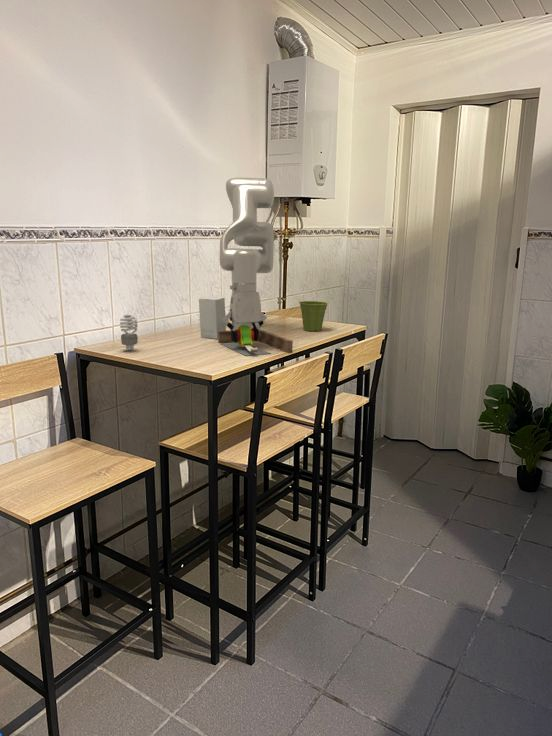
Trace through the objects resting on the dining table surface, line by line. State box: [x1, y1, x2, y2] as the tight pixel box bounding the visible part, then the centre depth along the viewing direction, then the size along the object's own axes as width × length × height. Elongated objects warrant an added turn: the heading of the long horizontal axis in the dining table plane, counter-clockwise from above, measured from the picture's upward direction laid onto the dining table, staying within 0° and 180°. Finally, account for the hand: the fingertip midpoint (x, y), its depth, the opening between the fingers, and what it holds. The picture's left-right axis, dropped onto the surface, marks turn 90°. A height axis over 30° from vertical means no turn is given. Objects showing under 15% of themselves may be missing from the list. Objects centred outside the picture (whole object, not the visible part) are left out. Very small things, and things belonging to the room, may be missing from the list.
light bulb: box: [119, 314, 139, 352], centre depth 188 cm, size 6×6×12 cm
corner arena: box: [217, 328, 294, 354], centre depth 198 cm, size 26×16×4 cm, turn 28°
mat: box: [220, 342, 272, 357], centre depth 196 cm, size 21×9×1 cm, turn 28°
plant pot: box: [298, 300, 329, 332], centre depth 233 cm, size 12×12×11 cm
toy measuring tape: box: [236, 325, 259, 352], centre depth 192 cm, size 6×19×7 cm, turn 17°
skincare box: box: [198, 296, 227, 340], centre depth 214 cm, size 8×6×15 cm
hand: (244, 340), depth 195 cm, fingers closed on toy measuring tape, 6 cm apart
